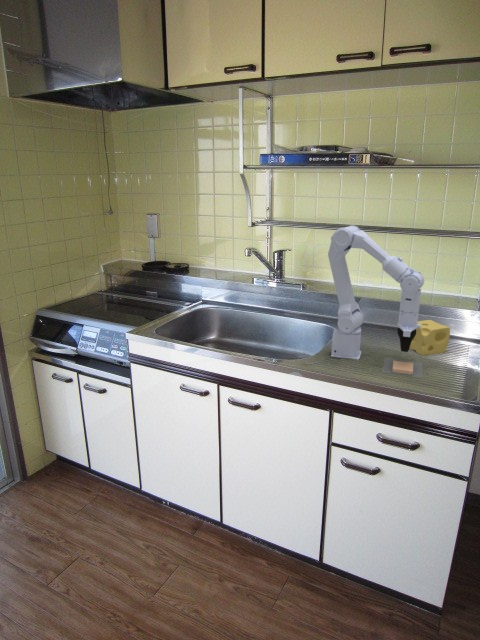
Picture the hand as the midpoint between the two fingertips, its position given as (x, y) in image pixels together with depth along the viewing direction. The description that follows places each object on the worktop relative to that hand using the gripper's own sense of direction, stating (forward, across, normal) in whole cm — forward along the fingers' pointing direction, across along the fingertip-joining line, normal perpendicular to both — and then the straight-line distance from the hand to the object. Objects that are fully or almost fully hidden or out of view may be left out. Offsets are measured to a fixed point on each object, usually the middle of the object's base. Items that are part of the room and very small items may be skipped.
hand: (404, 350), depth 148 cm
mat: (+6, -2, 0) cm, 6 cm away
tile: (+4, 0, 0) cm, 4 cm away
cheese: (+6, +18, -7) cm, 20 cm away
